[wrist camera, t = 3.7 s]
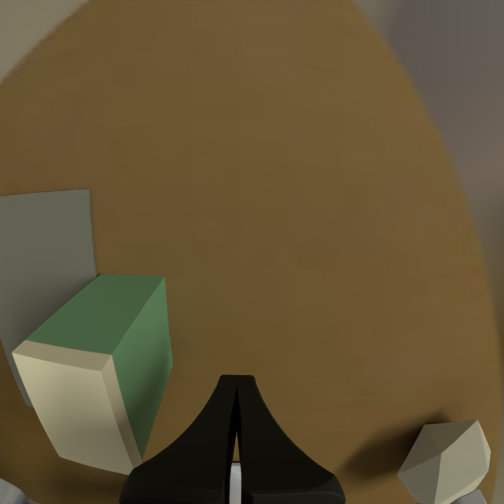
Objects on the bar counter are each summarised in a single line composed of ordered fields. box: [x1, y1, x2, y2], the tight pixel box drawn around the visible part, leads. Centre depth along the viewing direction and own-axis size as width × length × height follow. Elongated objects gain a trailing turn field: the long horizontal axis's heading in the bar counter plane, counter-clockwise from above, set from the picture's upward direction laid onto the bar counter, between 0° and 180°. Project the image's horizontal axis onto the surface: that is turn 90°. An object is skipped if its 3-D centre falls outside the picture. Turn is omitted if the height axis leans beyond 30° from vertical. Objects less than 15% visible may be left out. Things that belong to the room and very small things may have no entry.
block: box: [12, 274, 173, 475], centre depth 14 cm, size 6×4×9 cm, turn 178°
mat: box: [0, 189, 97, 407], centre depth 18 cm, size 18×11×1 cm, turn 179°
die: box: [397, 419, 491, 504], centre depth 18 cm, size 8×9×10 cm
